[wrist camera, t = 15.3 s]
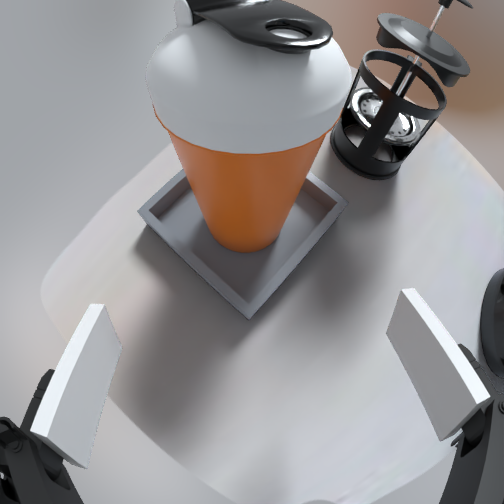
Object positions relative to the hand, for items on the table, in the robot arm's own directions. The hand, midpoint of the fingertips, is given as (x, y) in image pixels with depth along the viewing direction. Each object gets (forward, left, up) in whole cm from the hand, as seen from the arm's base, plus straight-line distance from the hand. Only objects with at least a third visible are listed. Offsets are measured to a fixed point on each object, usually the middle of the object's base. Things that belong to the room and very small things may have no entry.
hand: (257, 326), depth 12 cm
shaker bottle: (+10, 0, -12) cm, 16 cm away
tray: (+11, 0, -13) cm, 17 cm away
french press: (+20, -15, -13) cm, 29 cm away
